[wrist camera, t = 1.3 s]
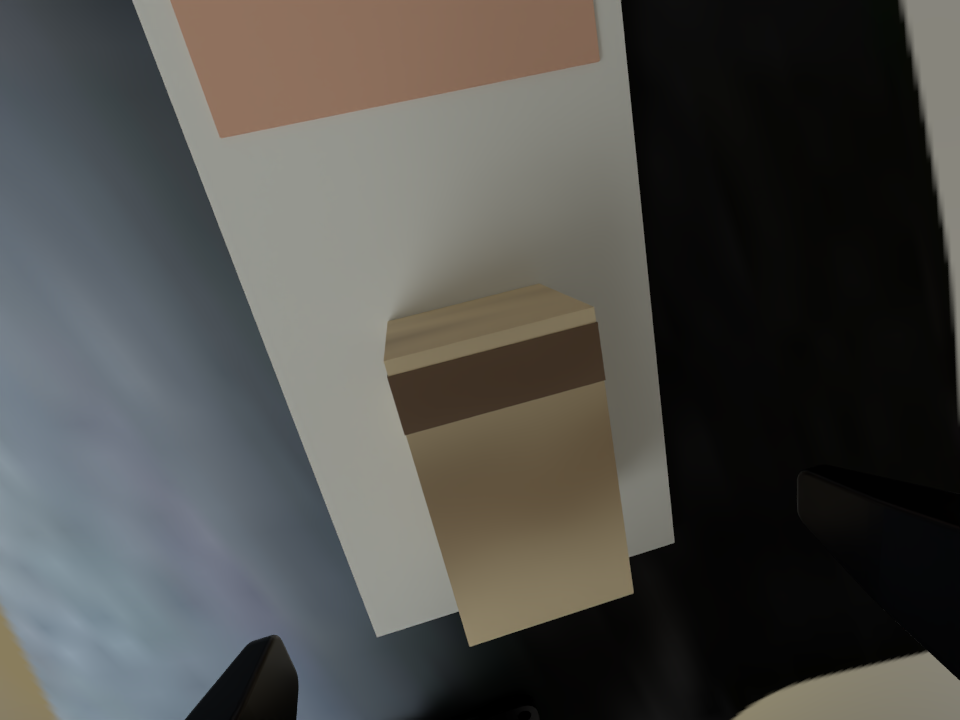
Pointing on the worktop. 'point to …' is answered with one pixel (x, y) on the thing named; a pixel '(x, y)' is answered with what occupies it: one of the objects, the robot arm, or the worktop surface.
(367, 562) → the grey mat
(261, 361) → the worktop surface
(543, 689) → the worktop surface
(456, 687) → the worktop surface
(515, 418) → the two-tone wooden box
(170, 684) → the worktop surface
